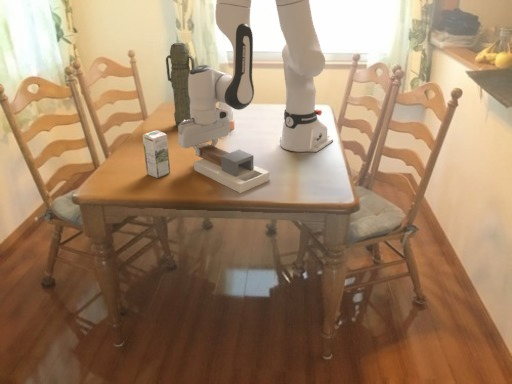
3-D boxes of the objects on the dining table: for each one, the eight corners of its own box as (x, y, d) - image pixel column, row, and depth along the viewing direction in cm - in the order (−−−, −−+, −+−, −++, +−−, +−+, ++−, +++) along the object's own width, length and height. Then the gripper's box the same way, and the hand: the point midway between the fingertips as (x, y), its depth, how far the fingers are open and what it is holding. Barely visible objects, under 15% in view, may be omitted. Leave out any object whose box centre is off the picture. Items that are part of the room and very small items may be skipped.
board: (223, 159, 156) (222, 138, 152) (269, 180, 140) (269, 157, 137) (194, 170, 148) (192, 148, 144) (240, 193, 133) (239, 169, 129)
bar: (205, 151, 155) (205, 142, 153) (232, 163, 145) (232, 154, 143) (196, 155, 152) (195, 146, 150) (222, 167, 142) (222, 158, 141)
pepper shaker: (233, 130, 184) (232, 86, 175) (217, 130, 184) (214, 86, 175) (235, 125, 190) (233, 82, 181) (218, 125, 190) (216, 82, 181)
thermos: (197, 129, 186) (191, 45, 170) (170, 129, 186) (162, 45, 169) (200, 122, 194) (194, 42, 177) (174, 122, 194) (166, 42, 177)
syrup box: (160, 168, 149) (155, 129, 142) (171, 173, 146) (166, 133, 139) (146, 174, 145) (141, 134, 138) (158, 179, 142) (152, 138, 135)
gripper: (183, 124, 136) (187, 163, 143) (231, 111, 149) (233, 147, 155) (172, 120, 140) (176, 158, 147) (220, 107, 153) (222, 143, 159)
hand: (205, 153), depth 151 cm, fingers closed on bar, 4 cm apart
